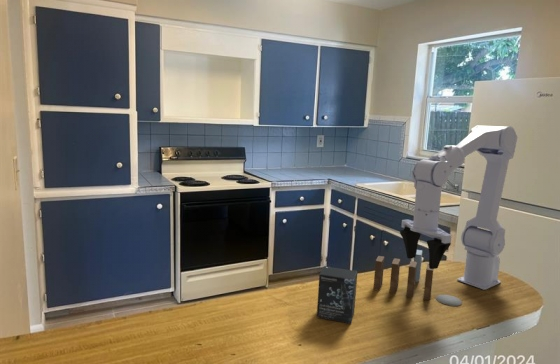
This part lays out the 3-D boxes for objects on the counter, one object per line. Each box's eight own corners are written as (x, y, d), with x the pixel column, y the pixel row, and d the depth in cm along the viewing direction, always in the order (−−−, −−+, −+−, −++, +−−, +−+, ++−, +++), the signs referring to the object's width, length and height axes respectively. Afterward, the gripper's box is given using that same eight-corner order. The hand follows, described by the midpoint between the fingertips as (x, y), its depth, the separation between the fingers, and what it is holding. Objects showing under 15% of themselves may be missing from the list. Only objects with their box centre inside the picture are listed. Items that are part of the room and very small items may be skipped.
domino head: (420, 277, 117) (422, 250, 115) (418, 282, 113) (421, 255, 111) (414, 275, 117) (416, 249, 116) (412, 281, 113) (415, 254, 112)
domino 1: (382, 284, 110) (384, 256, 109) (379, 290, 106) (381, 261, 105) (376, 283, 111) (378, 255, 110) (373, 289, 107) (375, 260, 106)
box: (316, 318, 90) (318, 273, 89) (321, 307, 96) (323, 265, 94) (351, 325, 88) (354, 279, 86) (354, 313, 93) (357, 270, 92)
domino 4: (430, 293, 105) (433, 264, 104) (430, 300, 101) (433, 270, 100) (424, 292, 106) (427, 263, 105) (423, 299, 102) (426, 269, 101)
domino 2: (397, 287, 109) (400, 259, 107) (395, 293, 105) (398, 264, 103) (391, 286, 109) (394, 258, 108) (389, 292, 105) (391, 263, 104)
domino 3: (414, 290, 107) (417, 262, 106) (412, 297, 103) (415, 267, 102) (408, 289, 108) (410, 261, 106) (406, 295, 104) (408, 266, 102)
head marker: (461, 298, 103) (461, 297, 103) (462, 308, 98) (462, 307, 98) (436, 293, 106) (436, 292, 106) (435, 302, 100) (435, 302, 100)
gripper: (393, 204, 102) (389, 255, 105) (437, 217, 89) (431, 275, 92) (415, 202, 105) (410, 252, 107) (460, 215, 92) (454, 271, 94)
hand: (421, 262), depth 100 cm, fingers open, 7 cm apart
